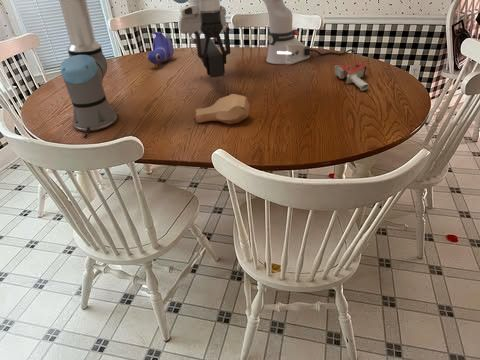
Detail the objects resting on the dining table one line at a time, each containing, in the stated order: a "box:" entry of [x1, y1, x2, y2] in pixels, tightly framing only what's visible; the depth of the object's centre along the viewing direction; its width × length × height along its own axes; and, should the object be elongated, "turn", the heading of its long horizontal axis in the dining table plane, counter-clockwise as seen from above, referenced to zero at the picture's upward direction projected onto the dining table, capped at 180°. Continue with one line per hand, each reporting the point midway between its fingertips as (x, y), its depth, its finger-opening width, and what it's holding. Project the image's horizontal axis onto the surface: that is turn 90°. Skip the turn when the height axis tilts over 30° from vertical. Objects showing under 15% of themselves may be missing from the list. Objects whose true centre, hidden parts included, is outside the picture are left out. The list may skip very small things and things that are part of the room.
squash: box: [195, 93, 251, 125], centre depth 127 cm, size 11×20×9 cm, turn 92°
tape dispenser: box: [334, 61, 370, 92], centre depth 151 cm, size 18×5×20 cm
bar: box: [200, 37, 225, 79], centre depth 150 cm, size 28×5×8 cm, turn 14°
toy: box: [146, 31, 175, 69], centre depth 182 cm, size 10×17×25 cm
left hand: (215, 72), depth 144 cm, fingers closed on bar, 5 cm apart
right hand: (204, 41), depth 156 cm, fingers open, 8 cm apart
